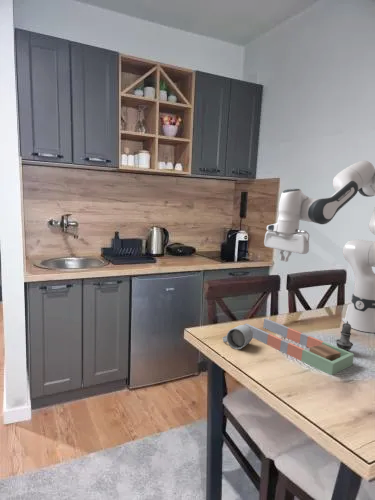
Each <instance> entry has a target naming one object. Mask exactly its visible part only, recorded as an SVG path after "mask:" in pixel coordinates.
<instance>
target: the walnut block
mask: <svg viewBox="0 0 375 500" xmlns="http://www.w3.org/2000/svg"><path fill="white" fill-rule="evenodd" d="M308 351H310V352H312V353H314V354H317V355H319V356H321V357H323V358H326V359H328V360H330V361H333V360H336V359H338V358H340V355H341V353H340V352H338V351H336V350H334V349H332V348H330V347H328V346H326V345H324V344H323V345H318V346H313V347H310V348H309V350H308Z"/></svg>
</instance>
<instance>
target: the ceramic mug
mask: <svg viewBox="0 0 375 500" xmlns="http://www.w3.org/2000/svg"><path fill="white" fill-rule="evenodd" d="M253 339H254V338H253V333H252V330H251V329H250V327H248V326H246V325H244V324H240V325H237V326H235V327H233V328H230V329H229V330H228V332H227V333H226V335H225V336H223V337H222V342H223V343H228V345H229V346H230V348H232V349H233V350H234V349H235V350H242V349H243V348H244V347H246V346H247V345H248V344H249V343H250V342H252V340H253Z"/></svg>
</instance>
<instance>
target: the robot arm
mask: <svg viewBox="0 0 375 500" xmlns="http://www.w3.org/2000/svg"><path fill="white" fill-rule="evenodd" d="M332 187H333V190H334V193H333V194H332V195H330V196H329V197H326V198H313V197H309V196H307V195H306V194H304V193H303V192H302V190H301V189H300V188H292V189H291V188H288V189H285V190H283V191H282V192H281V195H280V198H279V201H278V202H279V203H278V217H277V221H276V223H273V224H272V223H271V224H268V225H266V232H265V234H264V240H263V243H264V244H263V245H264V247H265V248H271V249H276V250H278V255H279V260H280V261H282V262H285V263H286V262H289V258H290V256H291V255H292V253H296V254H300V255H306V254H308V253H309V251H310V233H309V232H308V231H307V230H302V229H299V228H300V221H303V222H308V223H315V224H318V225H327V224H329V223H330V222H331V221H332V220H333V218H334V217H335V216H336V215H337V213H338V212H339V211H340V210H341V209H342V208H343V207H344V206H346V205H347V204H348V203H349V202H350V201H351V200H352V199H354V197H355V196H356V195H357V193H359V194H360V196H361V195H362V197H367V198H368V197H374V196H375V166H374V165H373V164H372V162H370V161H368V160H360V161H356V162H354V163H352V164H351V165H348V166H347V167H345V168H343V169H342V170H340V171H339V172H338V173H337V174H336V175H335V176H334V177H333V180H332ZM368 230H369V231H370V232H371V233H372V234H373V235H375V207H374V209H373V211H372V214H371V216H370V220H369V224H368ZM284 252H285V254H284ZM342 255H343V257H344V259H345V261H347V262H348V263H349V265H350V266H351V268H352V270H353V275H354V289H353V293H352V295H351V303H349V304H348V305H347V309H346V312H345V316H344V317H342V318H341V320H342V322H344V323H347V321H348V323H349V324H350V325H351V329H353V330H357V331H360V332H365V333H373V334H374V333H375V272H374V270H373V268H375V241H373V240H367V239H366V240H364V239H351V240H348V241H347V242H346V243H345V244H344V245H343V248H342Z"/></svg>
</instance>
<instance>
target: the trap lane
mask: <svg viewBox="0 0 375 500" xmlns="http://www.w3.org/2000/svg"><path fill="white" fill-rule="evenodd" d="M243 325H246V326H248V327H250V329H251V330H252V333H253V338H252V339H255V340H257V341H259V342H261V343H263V344H265V345H267V346H270V347H271V348H274V349H276V350H277V351H280V352H282V353H285V355H288V356H291V357H292V358H295V359H296V360H299V361H301V362H303V363H306V364H307V365H309V366H312V367H314V369H317V370H319V371H322V372H324V373H326V374H328V375H330V376H333V375H335V374H337V373H339V372H341V371H343V370H346V368H349V367H351V366H353V364H354V363H353V362H354V357H355V354H354V353H353V352H351V351H350V352H348V351H346V350H343V349H341V348H338V347H337V345H336V346H335V345H334V344H330V343H329V342H325V341H323V340H321V339H318V338H315V337H313V336H311V335H309V334H306V333H304V332H300V331H299V330H295V329H293V328H291V327H288V326H286V325H284V324H281V323H280V322H279V323H278V322H276V321H273V320H271V319H268V318H264V319H263V329H265V328H266V329H265V330H267V329H268V331H270V332H272V333H275V334H277V335H279V336H281V337H284V338H285V339H288V340H291V341H293V342H295V343H298V344H300V345H301V346H305V347H306V348H308V349H310V347H313V346H318V345H323V344H324V345H326V346H328V347H330V348H332V349H334V350H336V351H338V352H340V353H341V355H340V358H338V359H336V360H333V361H330V360H328V359H326V358H323V357H321V356H319V355H317V354H314V353H312V352H310V351H309V350H307V349H305V348H303V347H300V346H298V345H296V344H294V343H291V342H289V341H287V340H285V339H282V338H280V337H278V336H275V335H274V334H271V333H270V332H267V331H264V330H262V329H260V328H258V327H255V326H253V325H251V324H249V323H244V324H243Z"/></svg>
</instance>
